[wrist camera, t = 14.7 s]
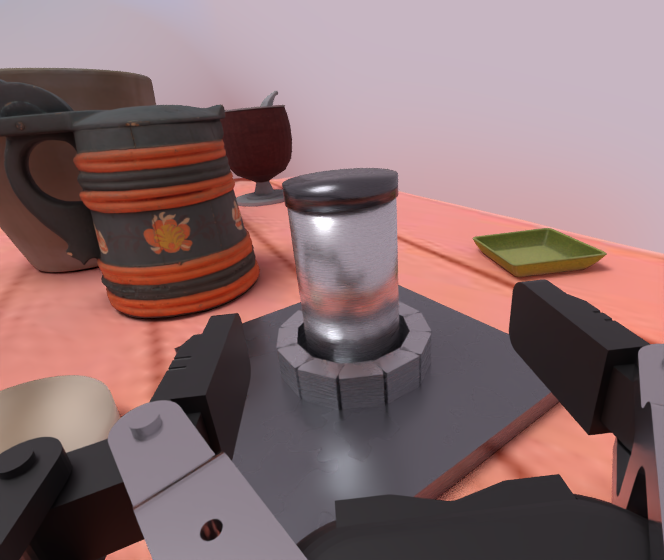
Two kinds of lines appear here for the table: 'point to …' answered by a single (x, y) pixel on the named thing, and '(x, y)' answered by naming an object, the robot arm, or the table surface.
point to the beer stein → (138, 199)
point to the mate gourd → (258, 148)
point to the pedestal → (57, 412)
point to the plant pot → (61, 155)
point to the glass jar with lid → (346, 261)
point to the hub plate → (378, 412)
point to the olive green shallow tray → (538, 252)
